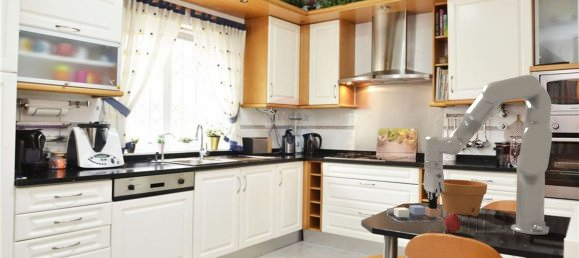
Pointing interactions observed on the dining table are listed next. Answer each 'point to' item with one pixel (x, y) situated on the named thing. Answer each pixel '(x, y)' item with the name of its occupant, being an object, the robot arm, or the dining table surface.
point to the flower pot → (463, 196)
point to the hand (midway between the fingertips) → (432, 208)
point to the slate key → (417, 209)
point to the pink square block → (433, 212)
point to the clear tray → (413, 217)
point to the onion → (452, 222)
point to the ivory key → (401, 212)
